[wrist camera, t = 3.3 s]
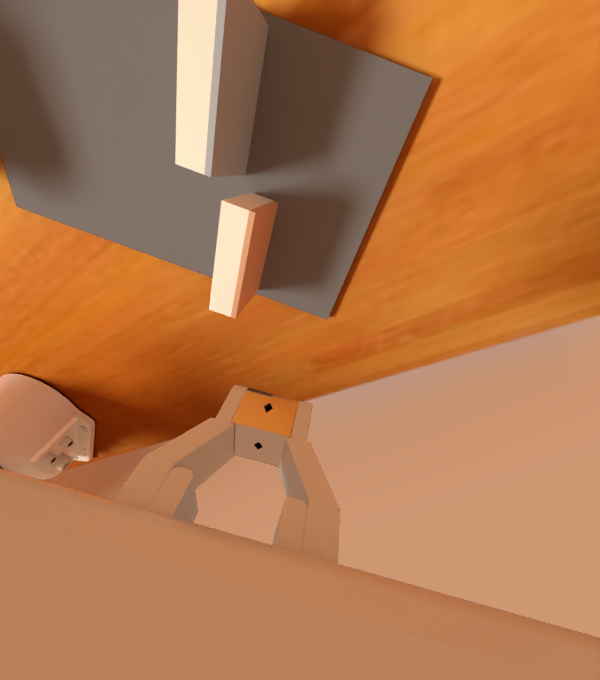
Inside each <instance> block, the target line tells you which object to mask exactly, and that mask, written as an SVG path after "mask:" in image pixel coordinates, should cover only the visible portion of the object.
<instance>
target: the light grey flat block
mask: <svg viewBox="0 0 600 680" xmlns="http://www.w3.org/2000/svg"><path fill="white" fill-rule="evenodd" d="M268 28H269V26H268V24H267V22H266V21H265V19H264V17H263V16H262V14H261V12H260V11H259V9H258V7H257V6H256V4H255V2H254V1H253V0H178V46H177V99H176V152H175V164H177V165H180V166H182V167H185V168H187V169H190V170H193V171H195V172H198V173H201V174H203V175H206V176H209V177H223V176H240V175H246V170H247V163H248V157H249V150H250V144H251V137H252V131H253V125H254V118H255V112H256V105H257V99H258V92H259V86H260V79H261V73H262V67H263V60H264V54H265V47H266V41H267V34H268Z"/></svg>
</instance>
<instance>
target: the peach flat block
mask: <svg viewBox="0 0 600 680" xmlns="http://www.w3.org/2000/svg"><path fill="white" fill-rule="evenodd" d="M278 203H279V202H276V201H273V200H271V199H268V198H265V197H263V196H260V195H257V194H255V193H250V194H246V195H241V196H237V197H233V198H229V199H225V200H222V201H221V209H220V218H219V227H218V236H217V244H216V253H215V262H214V271H213V279H212V288H211V297H210V306H209V309H210V310H213V311H215V312H218V313H221V314H224V315H226V316H229V317H232V318H235V319H236V318H237V316H238V315H239V314H240V312H241V311H242V310H243V309H244V307H245V306H246V305H247V304H248V302H249V301H250V300H251V299H252V297H253V296H254V295H255V294H256V292H257V291H258V290H259V285H260V281H261V277H262V272H263V268H264V264H265V259H266V255H267V251H268V246H269V242H270V238H271V234H272V229H273V225H274V221H275V216H276V212H277V208H278Z"/></svg>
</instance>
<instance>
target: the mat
mask: <svg viewBox="0 0 600 680" xmlns="http://www.w3.org/2000/svg"><path fill="white" fill-rule="evenodd" d="M259 11H260V12H261V14H262V16H263V17H264V19H265V21H266V22H267V24H268V26H269V28H268V34H267V41H266V47H265V54H264V60H263V67H262V73H261V79H260V86H259V92H258V99H257V105H256V112H255V118H254V125H253V131H252V137H251V144H250V150H249V157H248V163H247V170H246V175H240V176H223V177H209V176H206V175H203V174H201V173H198V172H195V171H193V170H190V169H187V168H185V167H182V166H180V165H177V164H175V152H176V99H177V46H178V0H0V154H1V157H2V160H3V164H4V167H5V170H6V174H7V177H8V180H9V183H10V187H11V190H12V193H13V196H14V200H15V203H16V206H17V207H19V208H22V209H25V210H28V211H30V212H33V213H36V214H39V215H41V216H44V217H47V218H50V219H52V220H55V221H58V222H61V223H63V224H66V225H69V226H72V227H74V228H77V229H80V230H83V231H85V232H88V233H91V234H94V235H96V236H99V237H102V238H105V239H107V240H110V241H113V242H116V243H118V244H121V245H124V246H126V247H129V248H132V249H135V250H137V251H140V252H143V253H146V254H148V255H151V256H154V257H157V258H159V259H162V260H165V261H168V262H170V263H173V264H176V265H179V266H181V267H184V268H187V269H190V270H192V271H195V272H198V273H201V274H203V275H206V276H209V277H212V278H213V271H214V262H215V253H216V244H217V236H218V227H219V218H220V209H221V201H222V200H225V199H229V198H233V197H237V196H241V195H246V194H250V193H255V194H257V195H260V196H263V197H265V198H268V199H271V200H273V201H276V202H279V203H278V208H277V212H276V216H275V221H274V225H273V229H272V234H271V238H270V242H269V246H268V251H267V255H266V259H265V264H264V268H263V272H262V277H261V281H260V285H259V290H258V291H257V292H256V294H258V295H261V296H264V297H267V298H269V299H272V300H275V301H278V302H280V303H283V304H286V305H289V306H291V307H294V308H297V309H300V310H302V311H305V312H308V313H311V314H313V315H316V316H319V317H322V318H324V319H327V320H328V317H329V315H330V313H331V310H332V308H333V306H334V303H335V301H336V299H337V297H338V294H339V292H340V290H341V287H342V285H343V283H344V280H345V278H346V276H347V274H348V271H349V269H350V267H351V264H352V262H353V260H354V257H355V255H356V253H357V251H358V248H359V246H360V244H361V241H362V239H363V237H364V234H365V232H366V230H367V228H368V225H369V223H370V221H371V218H372V216H373V214H374V211H375V209H376V207H377V205H378V202H379V200H380V198H381V195H382V193H383V191H384V188H385V186H386V184H387V182H388V179H389V177H390V175H391V172H392V170H393V168H394V165H395V163H396V161H397V159H398V156H399V154H400V152H401V149H402V147H403V145H404V143H405V140H406V138H407V136H408V133H409V131H410V129H411V126H412V124H413V122H414V120H415V117H416V115H417V113H418V110H419V108H420V106H421V103H422V101H423V99H424V97H425V94H426V92H427V90H428V87H429V85H430V83H431V80H432V78H431V77H429V76H426V75H423V74H421V73H418V72H416V71H413V70H411V69H408V68H406V67H403V66H401V65H398V64H396V63H393V62H391V61H388V60H386V59H383V58H381V57H378V56H375V55H373V54H370V53H368V52H365V51H363V50H360V49H358V48H355V47H353V46H350V45H348V44H345V43H343V42H340V41H338V40H335V39H333V38H330V37H328V36H325V35H322V34H320V33H317V32H315V31H312V30H310V29H307V28H305V27H302V26H300V25H297V24H295V23H292V22H290V21H287V20H285V19H282V18H280V17H277V16H275V15H272V14H269V13H267V12H264V11H262V10H259Z"/></svg>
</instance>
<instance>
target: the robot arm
mask: <svg viewBox="0 0 600 680" xmlns="http://www.w3.org/2000/svg"><path fill="white" fill-rule="evenodd" d="M298 402H299V403H298ZM311 412H312V404H311V403H307V402H303V401H299V400H295V399H291V398H287V397H282V396H278V395H273V394H269V393H265V392H262V391H258V390H255V389H251V388H247V387H243V386H240V385H236V384H235V385H234V386H233V387H232V389H231V391H230V393H229V394H228V396H227V398H226V400H225V401H224V403H223V405H222V407H221V409H220V410H219V412H218V414H217V416H216V418H212V417H211V418H209V419H207V420H206V421H204V422H202V423H201V424H199V425H197V426H195V427H194V428H192V429H190V430H189V431H187V432H185V433H183V434H182V435H180V436H178V437H177V438H175V439H173V440H171V441H170V442H168V443H167V444H165V445H163V446H161V447H159V448H158V449H156V450H154V451H153V452H151V453H149V454H147V455H146V456H145V457H144V458H143V459H142V461H141V462H140V463H139V465H138V466H137V468H136V469H135V470H134V472H133V473H132V474H131V476H130V477H129V478H128V480H127V481H126V482H125V484H124V485H123V487H122V488H121V489H120V491H119V492H118V493H117V495H116V496H115V497H114V499H113V500H110V499H107V498H103V497H99V496H96V495H92V494H88V493H85V492H82V491H78V490H75V489H71V488H68V487H64V486H61V485H57V484H53V483H50V482H46V481H43V480H42V479H48V478H51V477H54V476H55V475H57V474H58V473H60V472H61V471H63V470H65V469H66V468H67V467H68V466H69V465H70V464H71V462H72V461H73V460H78V461H89V460H90V459H91V458H92V457H93V449H94V434H95V422H94V421H93V420H92V419H91V418H90V417H88V416H87V415H86V414H84V413H83V412H81V411H80V410H78V409H77V408H76V407H75V406H74V405H73V404H72V403H71V402H70V401H69V400H68V399H67V398H65V397H64V396H63V395H62V394H60V393H59V392H57V391H56V390H54V389H53V388H51V387H50V386H48V385H46V384H44V383H42V382H40V381H38V380H36V379H33V378H31V377H28V376H24V375H20V374H5V375H3V376H2V377H1V378H0V680H600V638H598V637H595V636H591V635H588V634H584V633H581V632H577V631H574V630H570V629H567V628H563V627H560V626H556V625H552V624H549V623H545V622H542V621H538V620H535V619H531V618H527V617H524V616H521V615H517V614H514V613H510V612H506V611H503V610H499V609H496V608H492V607H489V606H485V605H482V604H478V603H475V602H471V601H467V600H464V599H461V598H457V597H453V596H450V595H446V594H443V593H439V592H436V591H432V590H428V589H425V588H422V587H418V586H414V585H411V584H407V583H404V582H400V581H397V580H393V579H390V578H386V577H383V576H379V575H376V574H372V573H368V572H365V571H361V570H358V569H354V568H351V567H347V566H344V565H340V564H338V548H339V523H340V508H339V506H338V504H337V502H336V499H335V497H334V495H333V493H332V491H331V488H330V486H329V484H328V482H327V480H326V477H325V475H324V473H323V470H322V468H321V466H320V464H319V462H318V459H317V457H316V455H315V453H314V450H313V448H312V446H311V444H310V443H308V442H306V440H307V434H308V429H309V423H310V417H311ZM233 455H236V456H240V457H245V458H249V459H253V460H257V461H261V462H264V463H267V464H271V465H274V466H277V467H279V471H280V475H281V479H282V483H283V487H284V490H285V494H286V498H287V499H286V500H285V501H284V504H283V508H282V511H281V514H280V518H279V521H278V525H277V528H276V531H275V535H274V540H273V544H272V545H269V544H266V543H262V542H259V541H255V540H251V539H248V538H245V537H241V536H237V535H234V534H230V533H227V532H223V531H220V530H216V529H213V528H209V527H206V526H202V525H199V524H195V523H193V522H194V520H195V518H196V515H197V513H198V508H197V500H196V493H195V489H196V488H197V487H198V486H200V485H201V484H202V483H203V482H204V481H206V480H207V479H208V478H209V477H210V476H211V475H213V474H214V473H215V472H216V471H217V470H218V469H219V468H221V467H222V466H223V465H224V464H225V463H226V462H227V461H229V460H230V459H231V458H232V457H233Z"/></svg>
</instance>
